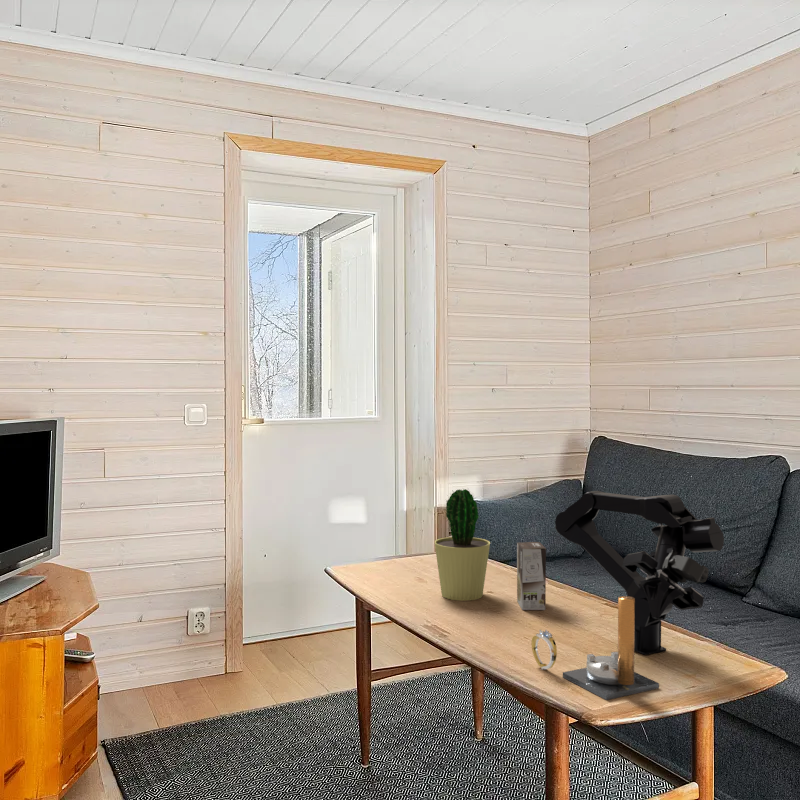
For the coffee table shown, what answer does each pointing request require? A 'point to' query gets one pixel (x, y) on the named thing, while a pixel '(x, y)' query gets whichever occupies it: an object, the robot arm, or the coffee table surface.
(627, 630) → the brown rod on base
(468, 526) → the potted cactus
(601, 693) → the plate
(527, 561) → the coffee box
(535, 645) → the ring
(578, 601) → the coffee table surface
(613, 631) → the coffee table surface
